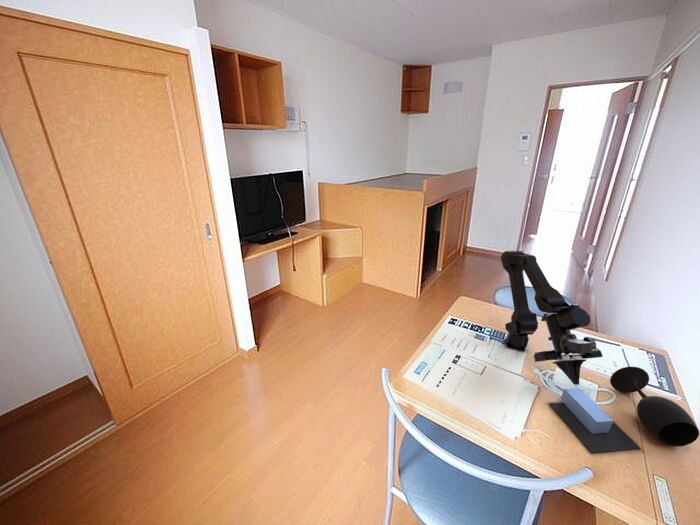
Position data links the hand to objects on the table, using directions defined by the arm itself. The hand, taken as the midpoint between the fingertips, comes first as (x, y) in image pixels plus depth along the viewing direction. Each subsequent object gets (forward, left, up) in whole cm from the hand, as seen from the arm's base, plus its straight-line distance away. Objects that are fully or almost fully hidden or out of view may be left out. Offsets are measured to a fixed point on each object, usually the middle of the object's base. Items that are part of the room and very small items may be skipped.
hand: (576, 384), depth 92 cm
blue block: (-1, +1, -5) cm, 5 cm away
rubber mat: (+4, -7, -7) cm, 11 cm away
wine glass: (+16, +13, -2) cm, 21 cm away
